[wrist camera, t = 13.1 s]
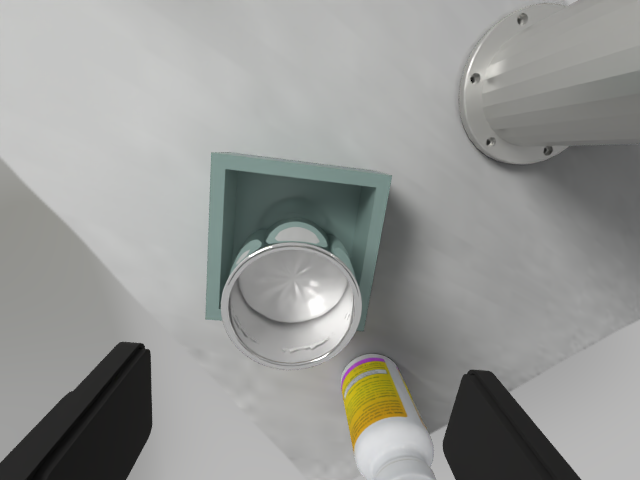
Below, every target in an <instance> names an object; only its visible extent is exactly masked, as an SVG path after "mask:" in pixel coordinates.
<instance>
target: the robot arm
mask: <svg viewBox="0 0 640 480" xmlns="http://www.w3.org/2000/svg"><path fill="white" fill-rule="evenodd" d="M470 78H471V79H472V83H471V81H470ZM459 108H460V115H461V119H462V123H463V126H464V128H465V130H466V132H467V134H468V136H469V138H470V140H471V141H472V142H473V143H474V145H475V146H476V147H477V148H478V149H479V150H480V151H481V152H483V153H484V154H485V155H486V156H488V157H490V158H492V159H494V160H496V161H500V162H504V163H508V164H520V165H521V164H534V163H537V162H541V161H545V160H547V159H549V158H552V157H554V156H556V155H558V154H559V153H561V152H562V151H564V150H565V149H567V148H568V147H569V146H580V145H628V144H640V0H578V1H576V2H574V3H572V4H571V5H569V6H564V5H560V4H552V3H542V4H536V5H530V6H527V7H525V8H522V9H520V10H517V11H515V12H513V13H512V14H510V15H508V16H507V17H505V18H503V19H502V20H501V21H499V22H498V23H497V24H495V25H494V26H493V27H492V28H490V29H489V30H488V32H487V33H486V34H485V35H484V36H483V37H482V38H481V39H480V40H479V42H478V43H477V45H476V46H475V48H474V49H473V51H472V52H471V54H470V56H469V59H468V61H467V63H466V65H465V68H464V71H463V75H462V79H461V82H460V91H459ZM486 141H487V145H486ZM151 397H152V396H151V356H150V350H149V349H145V346H144V344H141V343H130V342H120V343H119V344H118V345H116V347H114V349H113V350H112V351H111V352H110V353H109V354H108V355H107V356H106V357H105V358H104V359H103V360H102V361H101V362H100V363H99V364H98V366H97V367H96V368H95V369H94V370H93V371H92V372H91V373H90V374H89V375H88V376H87V377H86V378H85V379H84V380H83V381H82V382H81V383H80V385H79V386H78V387H77V388H76V389H75V390H74V391H71V392H69V393H68V394H67V395H66V396H65V397H64V398H62V399H61V400H60V401H59V403H58V404H57V405H56V406H55V407H54V408H53V409H52V410H51V411H50V412H49V413H48V414H47V415H46V416H45V417H44V418H43V419H42V420H41V421H40V422H39V423H38V424H37V425H36V427H34V428H33V429H32V430H31V432H30V433H29V434H28V435H27V436H26V437H25V438H24V439H23V440H22V441H21V442H20V443H19V444H18V445H17V446H16V447H15V448H14V449H13V451H11V452H10V453H9V454H8V456H7V457H6V458H5V459H4V460H3V461H2V462H1V463H0V480H126V479H127V477H128V475H129V473H130V471H131V469H132V468H133V466H134V464H135V462H136V460H137V458H138V456H139V455H140V452H141V451H142V449H143V447H144V445H145V443H146V442H147V440H148V437H149V435H150V432H151V428H152V398H151ZM443 451H444V454H445V457H446V459H447V461H448V464H449V466H450V468H451V470H452V473H453V475H454V477H455V479H456V480H581V479H580V478H579V477H578V475H577V474H576V473H575V472H574V470H573V469H572V468H571V467H570V466H569V464H568V463H567V462H566V461H565V460H564V458H563V457H562V456H561V455H560V454H559V452H558V451H557V450H556V449H555V448H554V446H553V445H552V444H551V443H550V441H549V440H548V439H547V438H546V437H545V435H544V434H543V433H542V432H541V431H540V429H539V428H538V427H537V426H536V425H535V423H534V422H533V421H532V420H531V419H530V417H529V416H528V415H527V414H526V412H525V411H524V410H523V409H522V408H521V406H520V405H519V404H518V403H517V402H516V400H515V399H514V398H513V397H512V396H511V394H510V393H509V392H508V391H507V390H506V388H505V387H504V386H503V385H502V384H501V382H500V381H499V380H498V379H497V378H496V376H495V375H494V374H493V373H492V372H490V371H483V370H470V371H469V372H468V373H467V374H464V375H463V377H462V380H461V383H460V387H459V390H458V393H457V396H456V400H455V403H454V406H453V410H452V413H451V416H450V420H449V423H448V426H447V430H446V433H445V437H444V440H443Z"/></svg>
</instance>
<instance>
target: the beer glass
mask: <svg viewBox="0 0 640 480" xmlns="http://www.w3.org/2000/svg"><path fill="white" fill-rule="evenodd" d="M361 312H362V299H361V293H360V289H359V286H358V283H357V281H356V276H355V273H354V269H353V265H352V263H351V260H350V257H349V255H348V253H347V250H346V249H345V247H344V245H343V244H342V242H341V240H340V239H339V237H338V236H337V235H336V234H335V233H334V232H333V230H331V229H330V228H329V227H328V226H327V222H326V220H325V217H324V215H323V214H322V212H321V211H320V210H319V209H318V208H317V207H316V206H314V205H313V204H311V203H309V202H307V201H304V200H300V199H288V200H284V201H281V202H279V203H277V204H275V205H274V206H273V207H272V208H271V209H270V210H269V211H268V212H267V213H266V215H265V217H264V219H263V221H262V224H261V225H260V226H258V227H257V228H256V229H255V230H254V231H253V232H252V233H251V234H250V235H249V236H248V238H247V239H246V240H245V242H244V243H243V244H242V246H241V248H240V249H239V251H238V253H237V256H236V258H235V260H234V262H233V265H232V268H231V271H230V274H229V277H228V280H227V282H226V284H225V287H224V289H223V293H222V298H221V316H222V321H223V325H224V328H225V330H226V332H227V334H228V336H229V338H230V339H231V341H232V342H233V343H234V345H235V346H236V347H237V348H238V349H239V350H240V351H241V352H242V353H243V354H245V355H246V356H247V357H249V358H250V359H252V360H253V361H255V362H257V363H259V364H262V365H264V366H267V367H271V368H275V369H281V370H299V369H306V368H310V367H314V366H317V365H319V364H321V363H324V362H326V361H328V360H329V359H331V358H333V357H334V356H335V355H337V354H338V353H339V352H340V351H341V350H343V349H344V348H345V346H346V345H347V344H348V343H349V342H350V340H351V339H352V337H353V336H354V334H355V332H356V330H357V328H358V325H359V322H360V318H361Z"/></svg>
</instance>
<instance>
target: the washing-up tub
mask: <svg viewBox="0 0 640 480" xmlns="http://www.w3.org/2000/svg"><path fill="white" fill-rule="evenodd" d="M391 179H392V175H388V174H384V173H380V172H376V171H371V170H364V169H356V168H348V167H340V166H332V165H324V164H317V163H309V162H301V161H293V160H285V159H278V158H270V157H262V156H254V155H246V154H239V153H231V152H215V153H211V175H210V204H209V232H208V261H207V289H206V318H205V319H207V320H220V321H222V316H221V298H222V293H223V289H224V287H225V284H226V282H227V280H228V277H229V274H230V271H231V268H232V265H233V262H234V260H235V258H236V256H237V253H238V251H239V249H240V248H241V246H242V244H243V243H244V242H245V240H246V239H247V238H248V236H249V235H250V234H251V233H252V232H253V231H254V230H255V229H256V228H257V227H258V226H260V225H261V224H262V221H263V219H264V217H265V215H266V213H267V212H268V211H269V210H270V209H271V208H272V207H273V206H274V205H275V204H277V203H279V202H281V201H284V200H288V199H300V200H304V201H307V202H309V203H311V204H313V205H314V206H316V207H317V208H318V209H319V210H320V211H321V212H322V214H323V215H324V217H325V220H326V222H327V226H328V227H329V228H330V229H331V230H333V232H334V233H335V234H336V235H337V236H338V237H339V239H340V240H341V242H342V244H343V245H344V247H345V249H346V250H347V253H348V255H349V257H350V260H351V263H352V265H353V269H354V273H355V276H356V281H357V283H358V286H359V289H360V293H361V299H362V312H361V318H360V322H359V325H358V328H357V330H356V331H364V326H365V321H366V315H367V310H368V304H369V299H370V294H371V288H372V283H373V277H374V272H375V266H376V261H377V255H378V250H379V244H380V239H381V233H382V228H383V222H384V217H385V211H386V206H387V201H388V195H389V190H390V184H391Z"/></svg>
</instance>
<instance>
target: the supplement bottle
mask: <svg viewBox="0 0 640 480" xmlns="http://www.w3.org/2000/svg"><path fill="white" fill-rule="evenodd" d="M341 390H342V395H343V400H344V405H345V410H346V415H347V420H348V425H349V430H350V435H351V440H352V446H353V451H354V456H355V461H356V465H357V467H358V469H359V471H360V473H361V474H362V476H364V478H365V479H366V480H436V478H435V475H434V473H433V471H432V469H431V468H430V466H431V464H432V461H433V455H434V449H433V443H432V439H431V437H430V435H429V433H428V430H427V428H426V426H425V424H424V422H423V420H422V418H421V416H420V414H419V412H418V409H417V407H416V405H415V403H414V401H413V399H412V397H411V394H410V392H409V390H408V388H407V386H406V384H405V381H404V379H403V377H402V375H401V373H400V371H399V369H398V367H397V366H396V364H395V363H394V362H393V361H392V360H391V359H389V358H388V357H385V356H383V355H379V354H365V355H362V356H359V357H357V358H355V359H354V360H352V361H351V362H350V363H349V364H348V365H347V366H346V368H345V369H344V371H343V373H342V377H341Z"/></svg>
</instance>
